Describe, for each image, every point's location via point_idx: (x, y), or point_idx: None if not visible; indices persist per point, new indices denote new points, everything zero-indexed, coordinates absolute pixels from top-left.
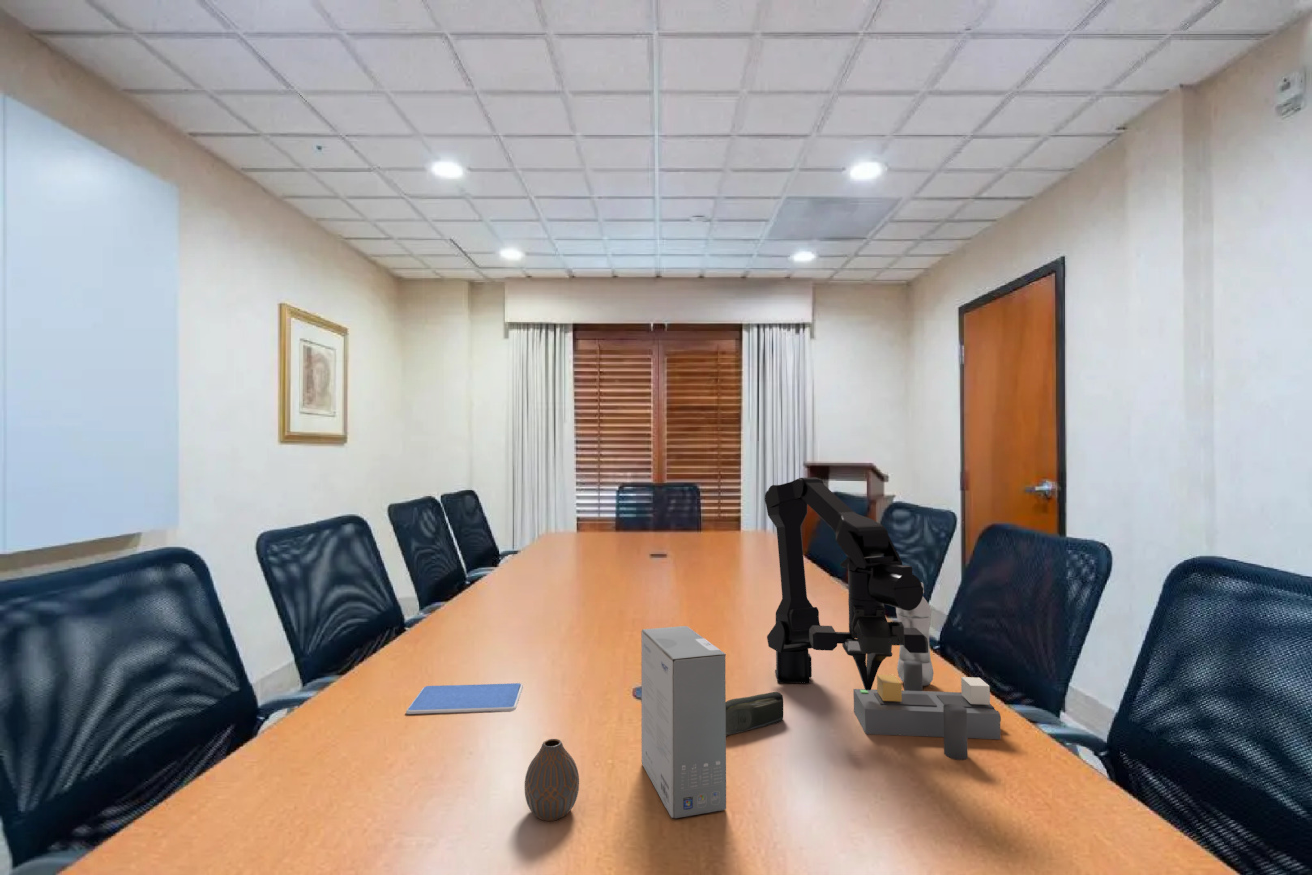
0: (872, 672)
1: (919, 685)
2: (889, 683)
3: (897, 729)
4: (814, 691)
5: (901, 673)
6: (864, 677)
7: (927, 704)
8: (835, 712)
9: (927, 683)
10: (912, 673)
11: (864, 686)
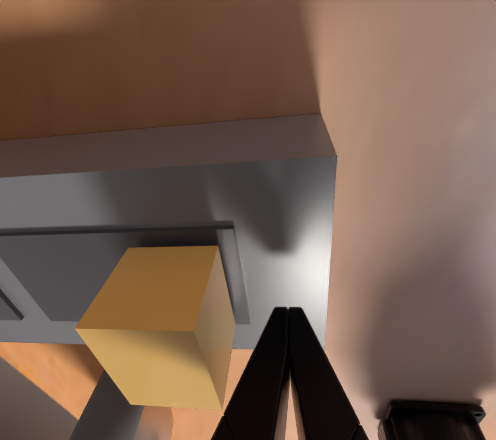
0: (257, 417)
1: (104, 377)
2: (151, 326)
3: (182, 131)
4: (394, 373)
5: (162, 424)
6: (319, 377)
7: (22, 241)
8: (381, 272)
9: None
10: (104, 418)
11: (308, 325)
